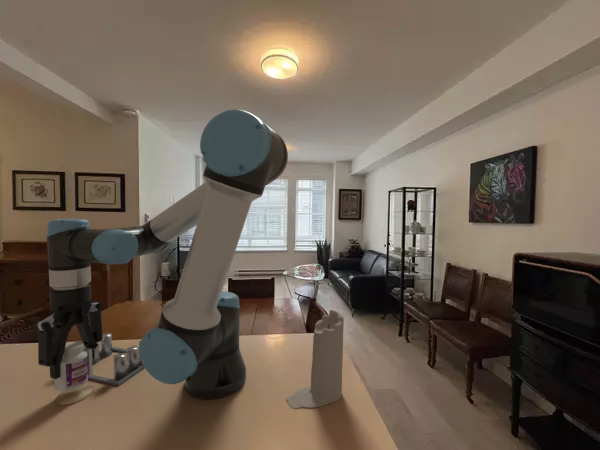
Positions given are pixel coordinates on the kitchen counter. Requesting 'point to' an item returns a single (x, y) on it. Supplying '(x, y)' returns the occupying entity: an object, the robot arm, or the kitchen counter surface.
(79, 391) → the cork coaster
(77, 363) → the pill bottle
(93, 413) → the kitchen counter surface
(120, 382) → the parts tray rim
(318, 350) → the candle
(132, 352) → the spacers
